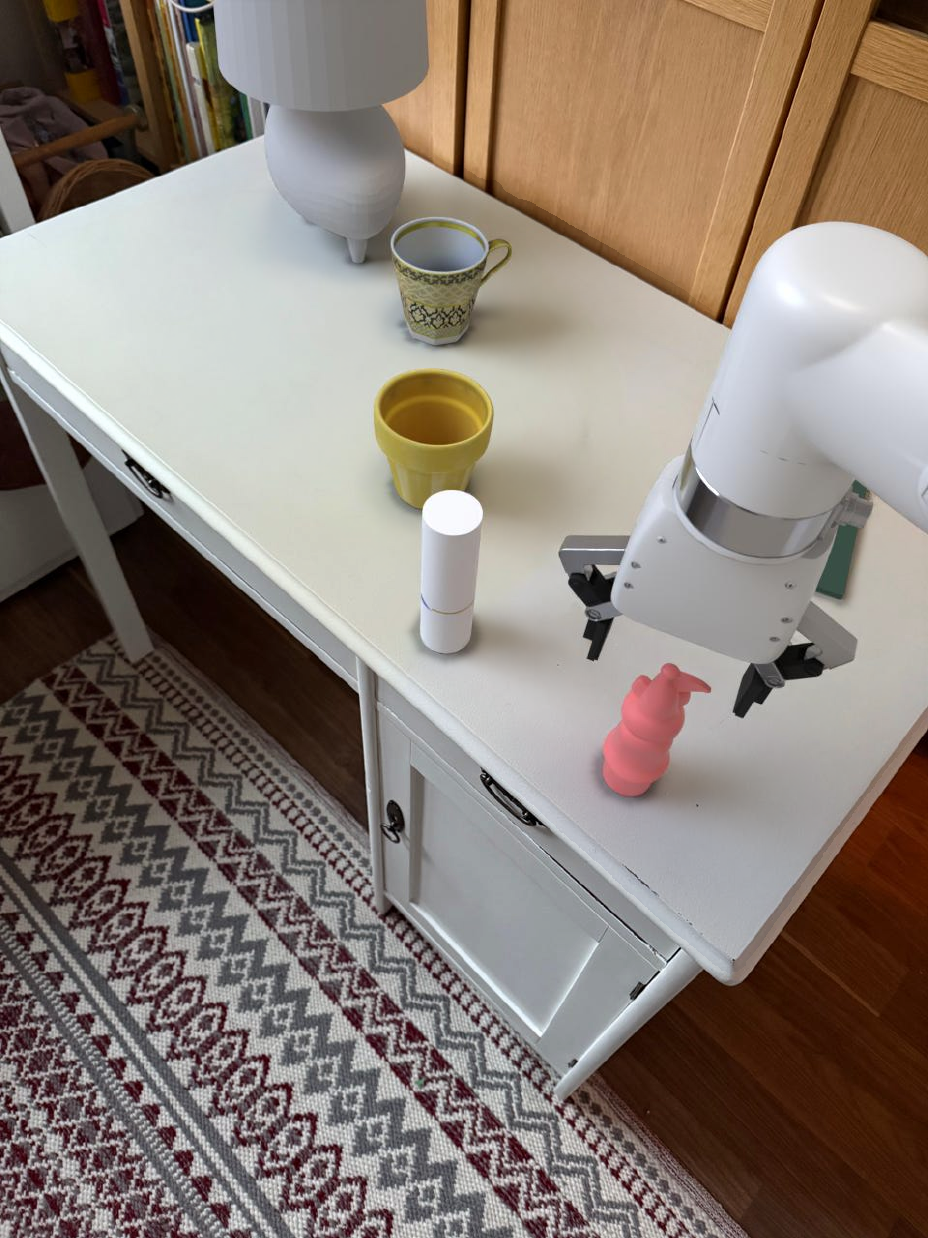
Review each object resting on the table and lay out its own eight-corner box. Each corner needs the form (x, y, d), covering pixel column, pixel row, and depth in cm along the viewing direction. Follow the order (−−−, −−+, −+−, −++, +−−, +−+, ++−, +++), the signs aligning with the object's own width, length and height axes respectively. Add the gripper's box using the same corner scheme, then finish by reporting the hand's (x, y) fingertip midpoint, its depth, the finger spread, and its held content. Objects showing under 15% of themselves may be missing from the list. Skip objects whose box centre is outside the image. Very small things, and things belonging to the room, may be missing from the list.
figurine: (666, 752, 71) (721, 645, 59) (657, 811, 68) (712, 711, 56) (602, 734, 71) (643, 625, 59) (590, 792, 68) (630, 690, 56)
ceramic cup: (406, 363, 96) (406, 279, 88) (380, 306, 101) (378, 223, 93) (520, 342, 99) (531, 260, 91) (489, 288, 104) (496, 206, 96)
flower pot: (476, 442, 90) (483, 362, 82) (494, 521, 84) (503, 443, 76) (371, 450, 88) (368, 369, 80) (382, 530, 82) (380, 452, 74)
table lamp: (459, 266, 106) (482, -173, 74) (283, 307, 100) (223, -152, 68) (384, 169, 118) (376, -248, 85) (222, 200, 112) (146, -236, 79)
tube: (480, 626, 77) (494, 506, 65) (453, 662, 75) (462, 544, 62) (438, 603, 78) (443, 481, 66) (410, 637, 76) (410, 517, 64)
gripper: (944, 493, 45) (812, 674, 59) (611, 385, 48) (561, 582, 62) (927, 605, 41) (790, 771, 55) (564, 479, 44) (522, 667, 58)
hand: (669, 670), depth 58 cm, fingers open, 9 cm apart
